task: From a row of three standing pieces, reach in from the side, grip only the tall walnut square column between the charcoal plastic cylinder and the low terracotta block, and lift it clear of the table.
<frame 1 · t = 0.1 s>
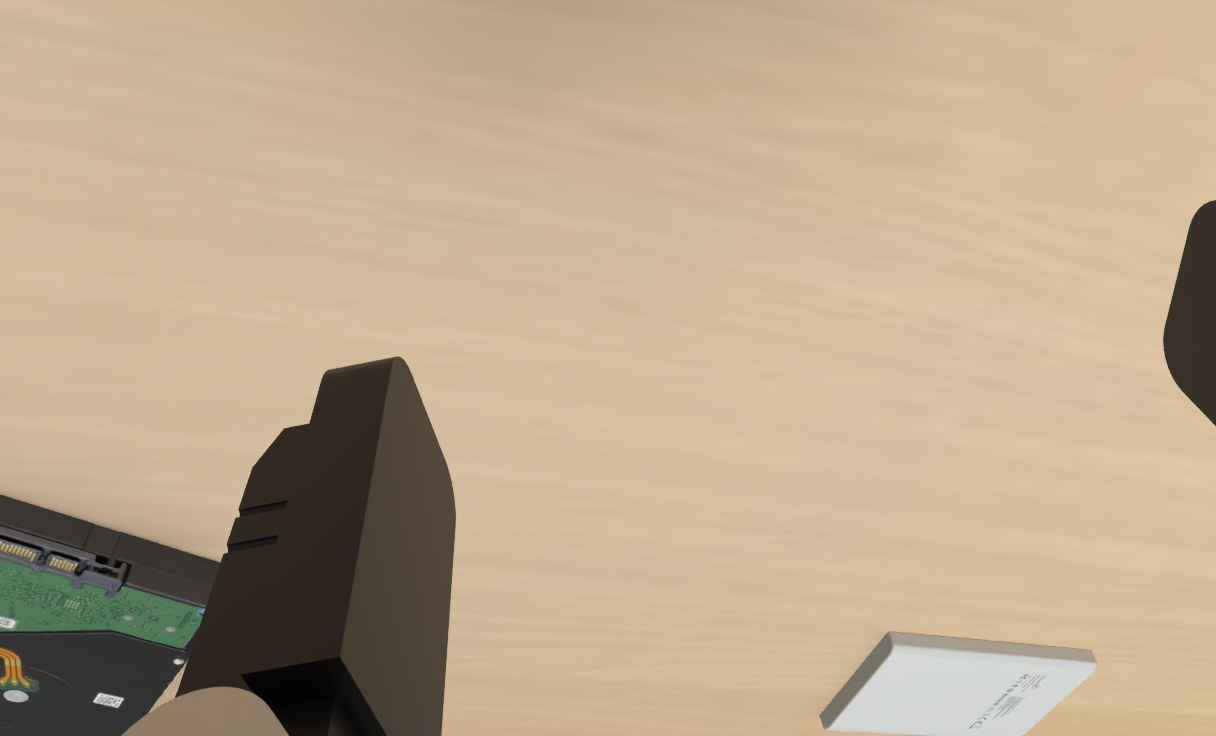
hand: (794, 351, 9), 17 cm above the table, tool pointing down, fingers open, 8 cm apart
external hard drive: (947, 671, 50), on the table
disk drive: (56, 611, 39), on the table
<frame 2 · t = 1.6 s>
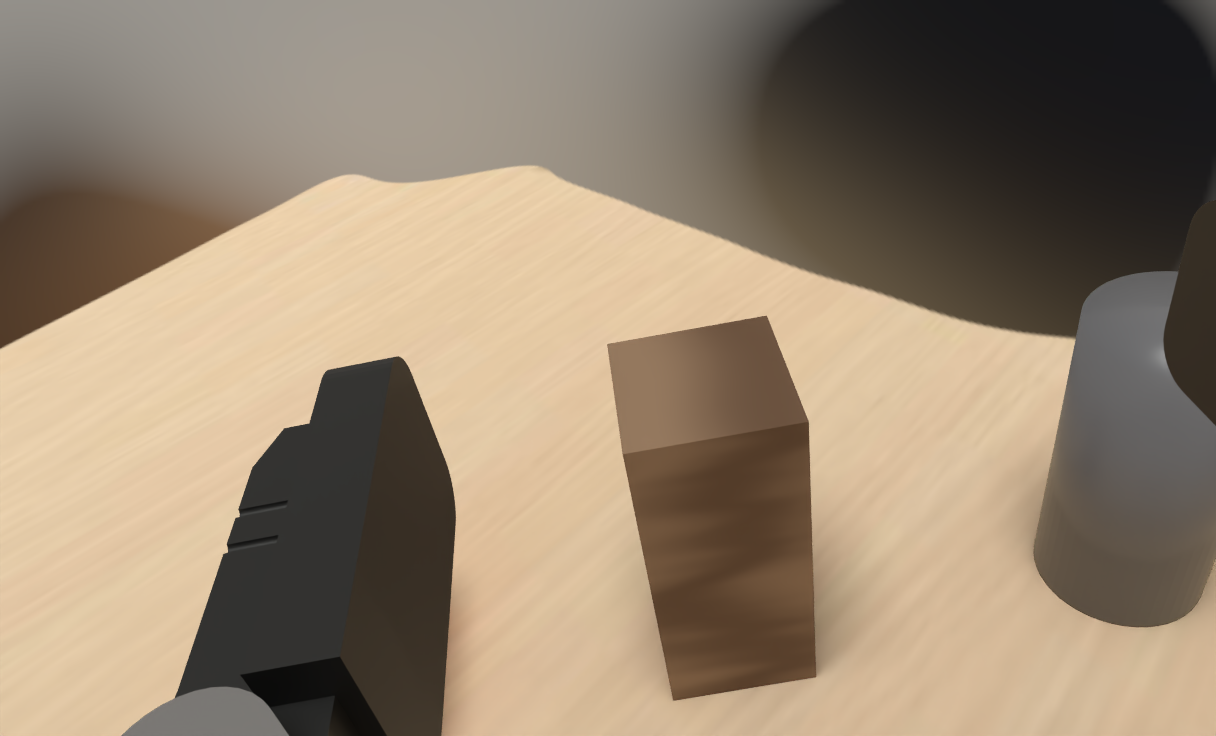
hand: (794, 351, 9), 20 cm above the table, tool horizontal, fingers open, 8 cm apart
walnut column: (730, 628, 31), on the table
charcoal cylinder: (1115, 563, 30), on the table
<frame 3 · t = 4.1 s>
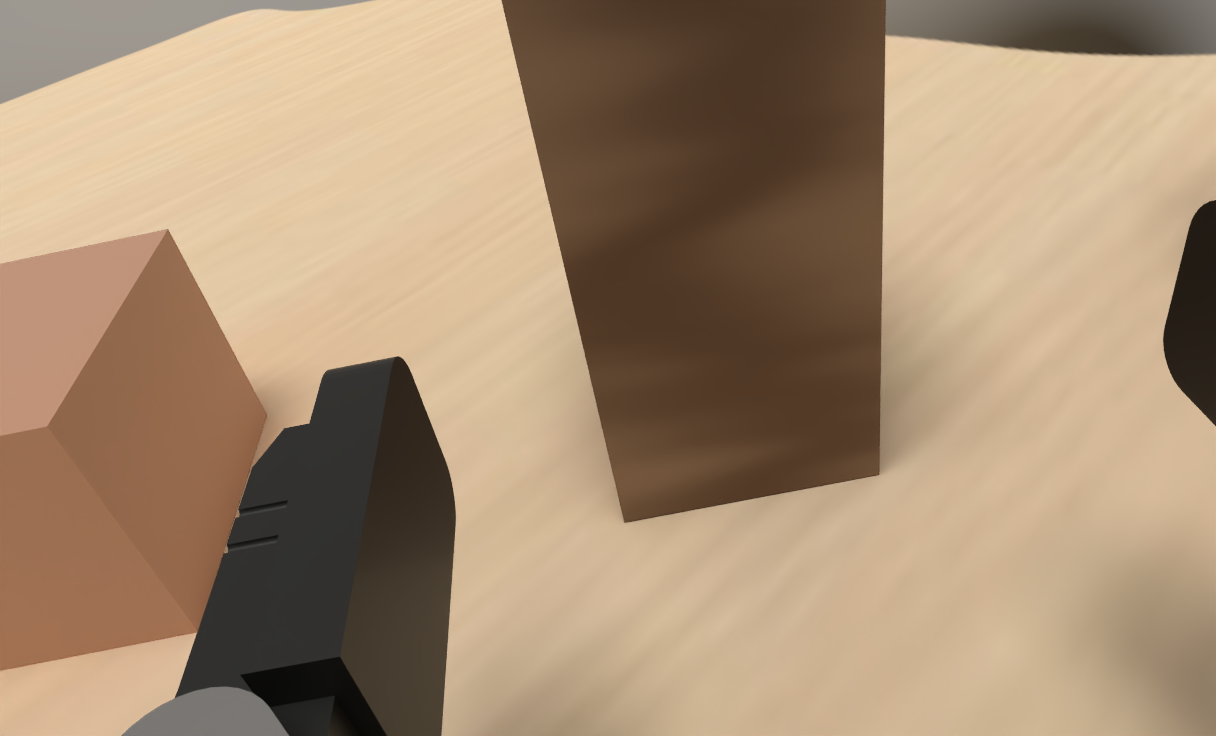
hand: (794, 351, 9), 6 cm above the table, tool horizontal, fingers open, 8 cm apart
terracotta block: (96, 541, 18), on the table
walnut column: (726, 416, 18), on the table
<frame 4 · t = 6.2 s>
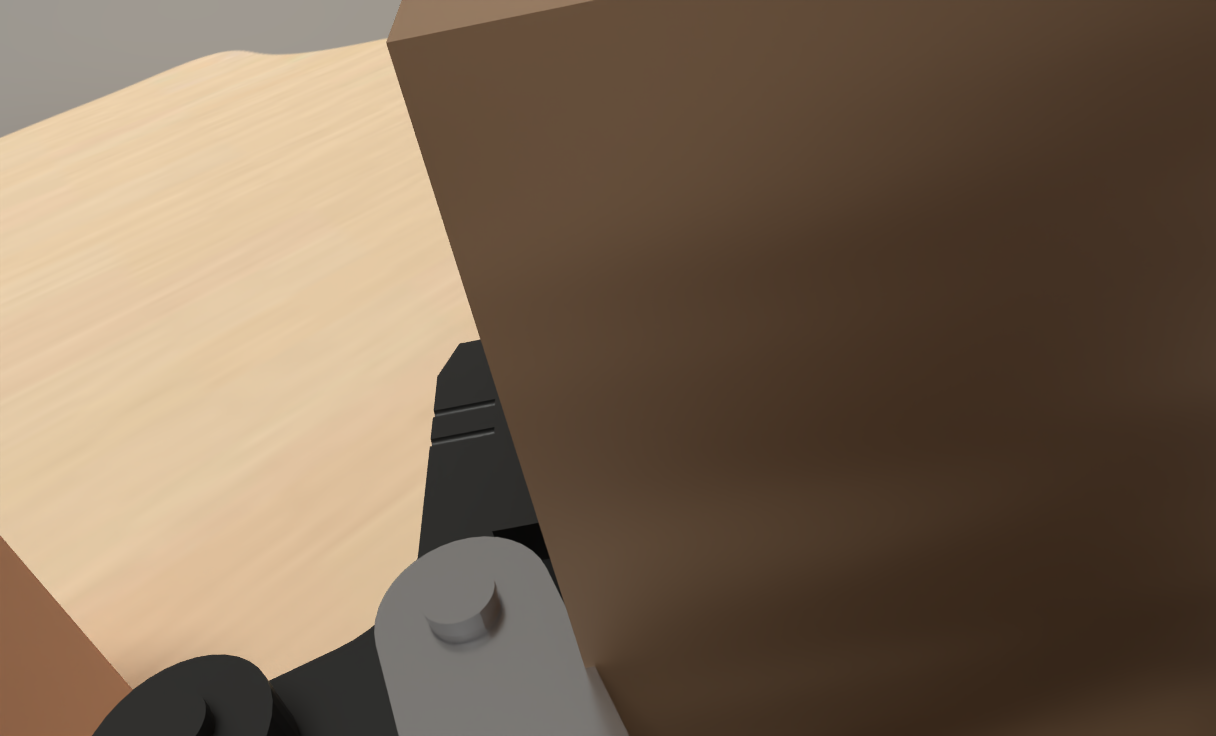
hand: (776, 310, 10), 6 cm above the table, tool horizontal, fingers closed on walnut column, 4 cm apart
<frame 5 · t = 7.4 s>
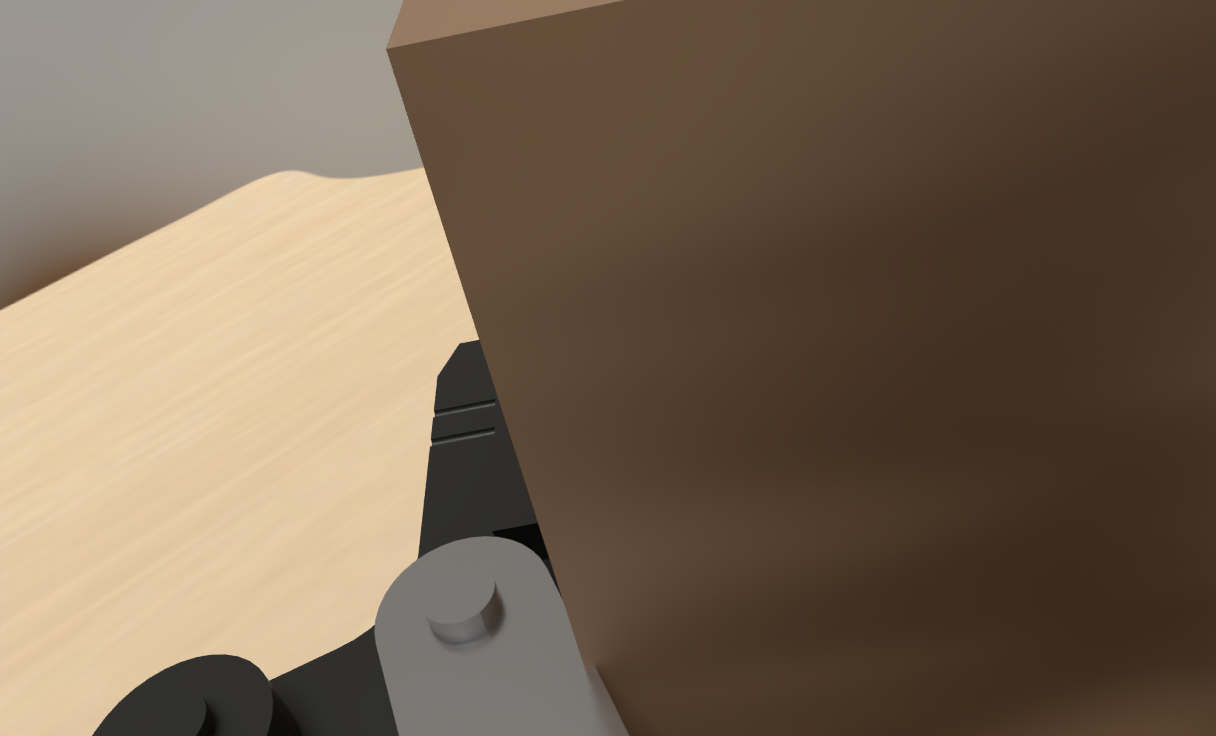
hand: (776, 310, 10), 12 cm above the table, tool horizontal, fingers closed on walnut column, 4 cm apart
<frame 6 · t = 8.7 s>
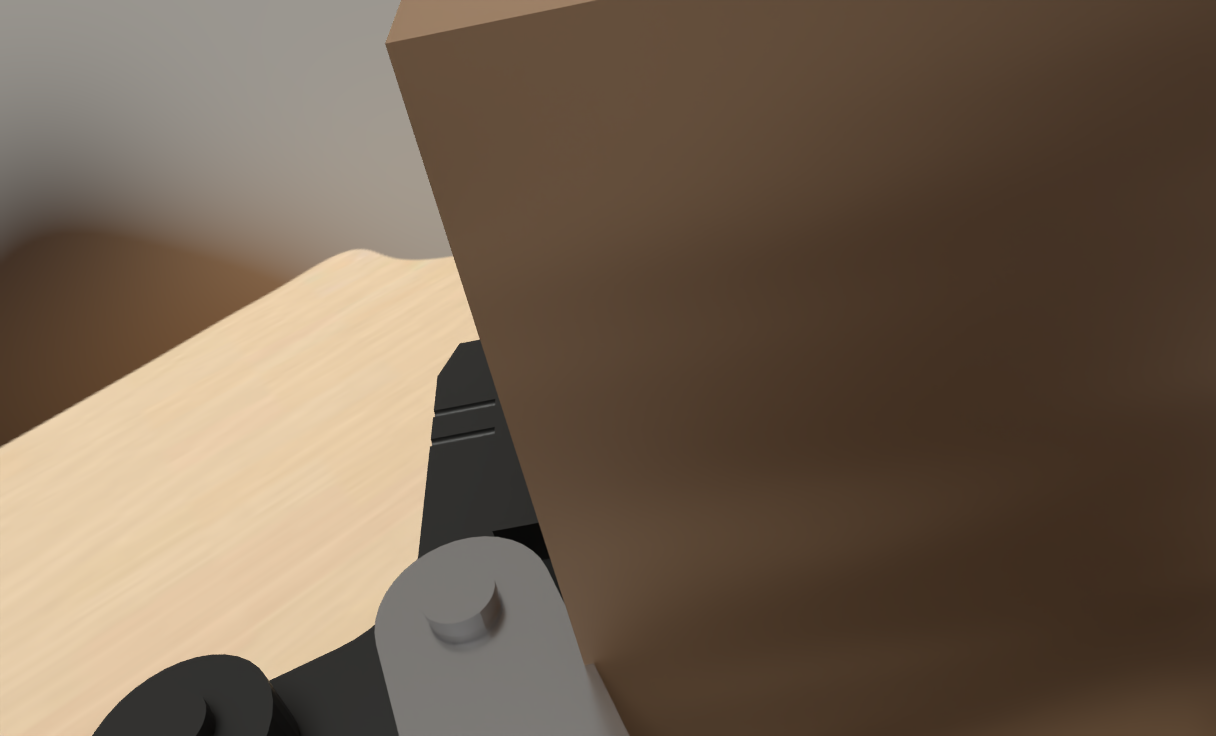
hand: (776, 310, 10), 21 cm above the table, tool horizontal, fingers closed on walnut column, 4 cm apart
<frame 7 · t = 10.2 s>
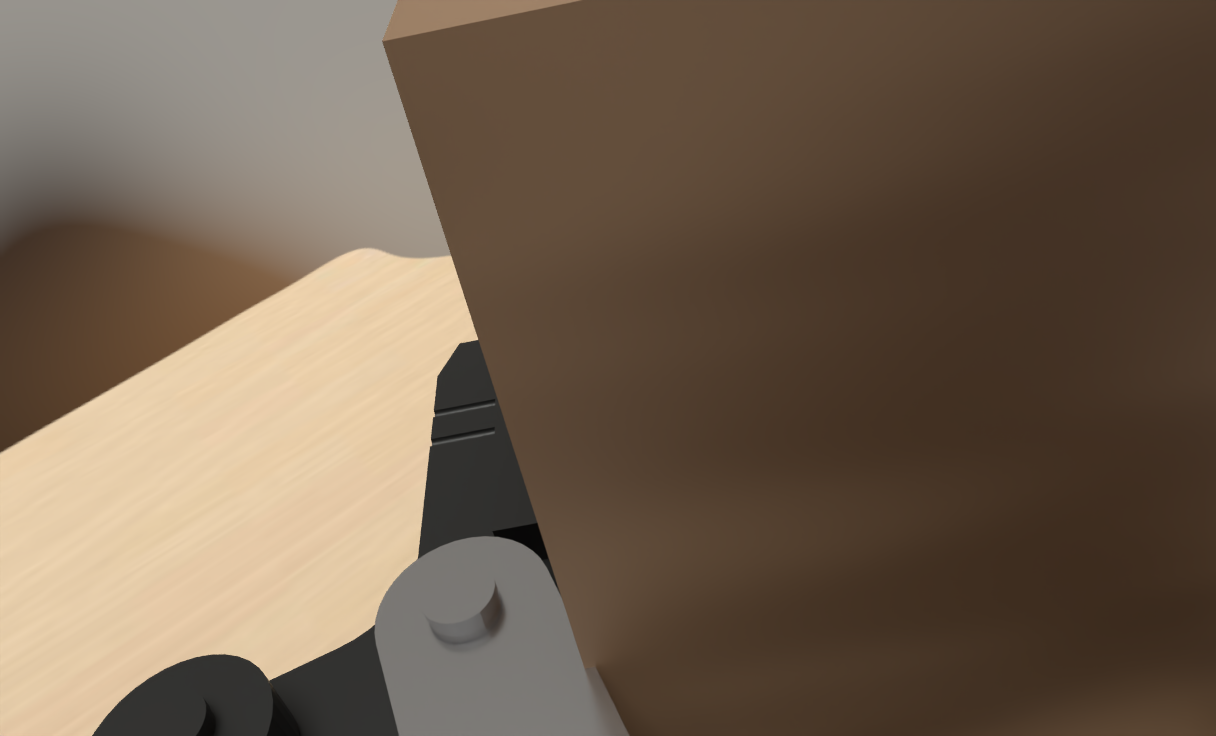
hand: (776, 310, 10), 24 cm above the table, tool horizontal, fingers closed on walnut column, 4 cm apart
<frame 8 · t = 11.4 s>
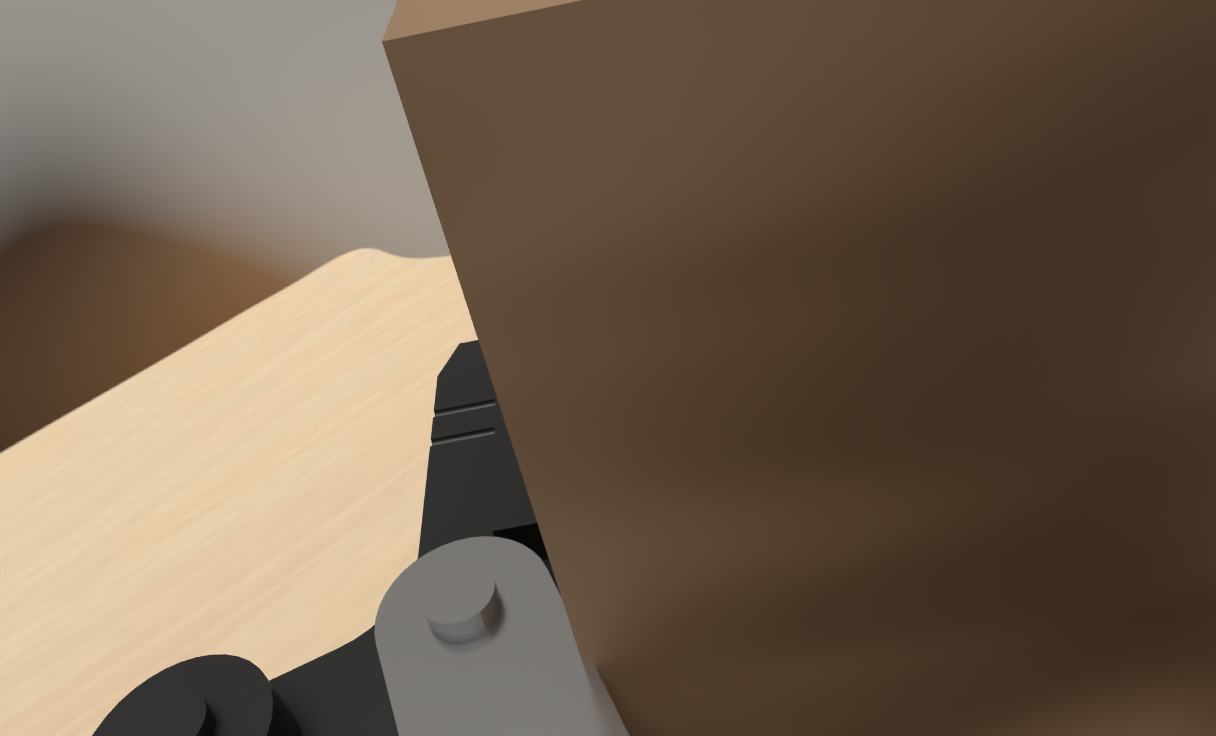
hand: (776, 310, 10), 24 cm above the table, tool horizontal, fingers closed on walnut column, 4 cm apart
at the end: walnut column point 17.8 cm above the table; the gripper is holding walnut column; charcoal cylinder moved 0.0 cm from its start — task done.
